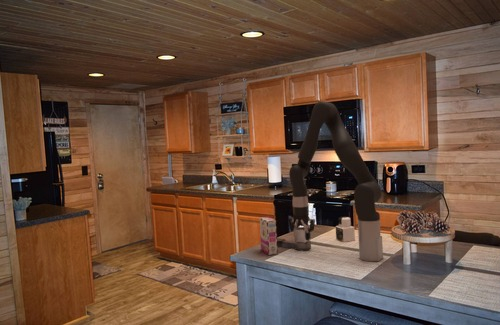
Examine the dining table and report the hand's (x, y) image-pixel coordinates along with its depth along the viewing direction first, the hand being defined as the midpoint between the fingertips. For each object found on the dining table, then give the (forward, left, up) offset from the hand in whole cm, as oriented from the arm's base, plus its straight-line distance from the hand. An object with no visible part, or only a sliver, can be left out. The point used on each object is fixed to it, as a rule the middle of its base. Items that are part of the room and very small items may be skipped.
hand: (302, 239), depth 188 cm
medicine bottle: (-13, -23, -5) cm, 27 cm away
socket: (0, 0, -1) cm, 1 cm away
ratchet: (+7, 0, -5) cm, 8 cm away
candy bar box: (+12, +12, -5) cm, 18 cm away
